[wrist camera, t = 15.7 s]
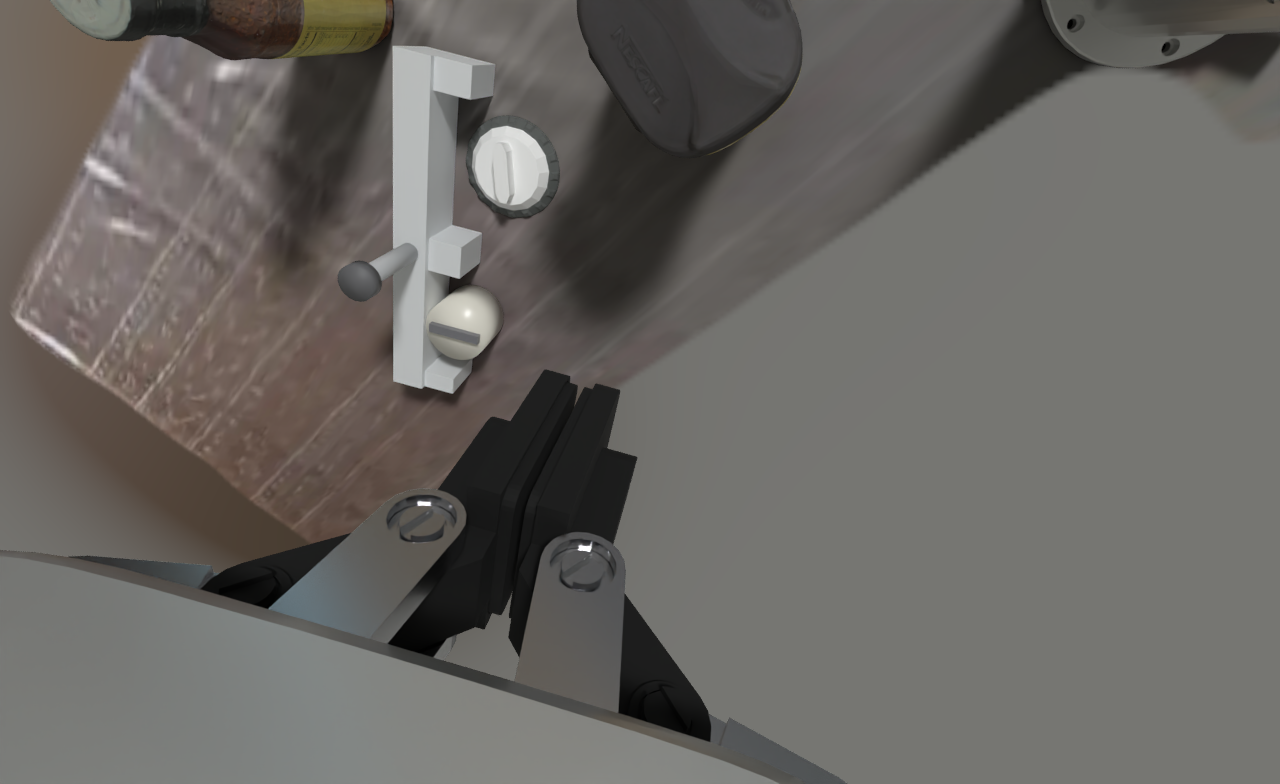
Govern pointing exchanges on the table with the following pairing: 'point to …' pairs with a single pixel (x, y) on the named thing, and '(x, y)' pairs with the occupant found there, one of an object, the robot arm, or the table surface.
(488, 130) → the stove knob
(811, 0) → the table surface
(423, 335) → the mount
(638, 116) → the coffee jar
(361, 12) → the sauce bottle
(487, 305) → the knob slider
